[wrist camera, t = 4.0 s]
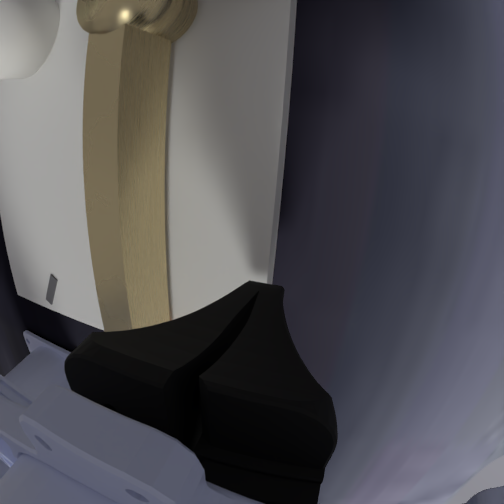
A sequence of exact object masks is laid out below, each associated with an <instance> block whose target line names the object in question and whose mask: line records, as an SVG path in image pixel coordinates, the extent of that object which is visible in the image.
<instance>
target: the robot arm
mask: <svg viewBox="0 0 504 504" xmlns="http://www.w3.org/2000/svg"><path fill="white" fill-rule="evenodd" d="M283 297H284V288H283V287H282V286H278V285H272V284H267V283H261V282H256V281H250V280H249V281H248V282H246V283H244V284H243V285H241V286H240V287H238V288H236V289H235V290H233V291H232V292H230V293H229V294H227V295H225V296H224V297H222V298H220V299H219V300H217V301H215V302H213V303H211V304H209V305H207V306H205V307H203V308H201V309H199V310H197V311H195V312H193V313H190V314H188V315H185V316H182V317H180V318H177V319H174V320H171V321H167V322H163V323H160V324H156V325H152V326H148V327H143V328H137V329H131V330H123V331H111V332H93V333H92V334H90V335H89V336H88V337H87V338H86V339H85V340H84V341H83V342H82V343H81V344H80V345H79V346H78V347H77V348H76V349H75V350H74V351H72V352H69V351H67V350H65V349H63V348H61V347H59V346H57V345H55V344H53V343H51V342H49V341H47V340H45V339H43V338H41V337H39V336H37V335H35V334H33V333H31V332H30V331H28V330H26V331H24V332H23V335H24V338H25V340H26V343H27V346H28V348H29V351H30V354H29V355H28V356H27V357H26V358H25V359H24V360H23V361H21V362H20V363H19V364H18V365H17V366H16V367H15V368H14V369H13V370H11V371H10V372H9V373H8V374H7V375H6V376H5V377H3V376H2V375H0V504H317V502H318V496H319V490H320V484H321V483H322V482H323V478H324V472H325V467H326V465H327V463H328V461H329V460H330V458H331V456H332V454H333V452H334V450H335V448H336V444H337V437H338V433H337V421H336V415H335V410H334V405H333V401H332V398H331V396H330V395H329V394H328V393H327V392H326V391H325V390H324V389H323V388H322V387H321V386H320V385H319V384H318V383H317V381H316V380H315V379H314V377H313V376H312V375H311V373H310V372H309V371H308V369H307V367H306V366H305V364H304V363H303V361H302V359H301V358H300V356H299V354H298V352H297V350H296V348H295V346H294V343H293V341H292V339H291V336H290V333H289V330H288V327H287V323H286V319H285V314H284V309H283ZM464 504H504V486H502V487H496V488H490V489H486V490H483V491H481V492H479V493H477V494H476V495H474V496H473V497H472V498H471V499H470V500H468V502H467V503H464Z"/></svg>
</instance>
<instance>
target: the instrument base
mask: <svg viewBox="0 0 504 504" xmlns="http://www.w3.org/2000/svg"><path fill="white" fill-rule="evenodd" d="M77 1H78V0H0V215H1V222H2V227H3V233H4V239H5V244H6V249H7V253H8V258H9V262H10V267H11V271H12V275H13V279H14V283H15V286H16V290H17V294H18V295H19V296H22V297H24V298H26V299H28V300H30V301H33V302H35V303H37V304H39V305H42V306H44V307H46V308H49V309H51V310H53V311H56V312H58V313H60V314H63V315H65V316H68V317H70V318H73V319H75V320H78V321H80V322H83V323H86V324H88V325H91V326H93V327H96V328H99V329H102V330H104V327H103V322H102V317H101V312H100V307H99V302H98V297H97V291H96V285H95V279H94V273H93V267H92V260H91V253H90V245H89V236H88V227H87V217H86V206H85V192H84V175H83V95H84V78H85V65H86V55H87V45H88V37H89V33H88V32H86V31H84V30H83V29H82V28H81V26H80V25H79V23H78V20H77V15H76V7H77ZM296 6H297V0H198V9H197V14H196V17H195V19H194V21H193V23H192V25H191V26H190V28H189V29H188V30H187V32H186V33H185V34H184V35H183V36H181V37H180V38H179V39H178V40H176V41H175V42H173V43H171V52H170V64H169V77H168V92H167V110H166V134H165V241H166V266H167V284H168V300H169V314H170V321H171V320H174V319H177V318H180V317H182V316H185V315H188V314H190V313H193V312H195V311H197V310H199V309H201V308H203V307H205V306H207V305H209V304H211V303H213V302H215V301H217V300H219V299H220V298H222V297H224V296H225V295H227V294H229V293H230V292H232V291H233V290H235V289H236V288H238V287H240V286H241V285H243V284H244V283H246V282H248V281H249V280H250V281H256V282H261V283H267V284H272V280H273V271H274V262H275V253H276V243H277V234H278V224H279V214H280V204H281V194H282V184H283V173H284V162H285V151H286V140H287V129H288V117H289V105H290V92H291V79H292V66H293V52H294V38H295V22H296Z"/></svg>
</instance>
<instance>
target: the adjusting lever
mask: <svg viewBox="0 0 504 504" xmlns="http://www.w3.org/2000/svg"><path fill="white" fill-rule="evenodd" d="M197 9H198V0H78V1H77V7H76V15H77V20H78V23H79V25H80V26H81V28H82V29H83V30H84V31H86V32H88V33H89V37H88V45H87V55H86V65H85V78H84V95H83V175H84V192H85V206H86V217H87V227H88V236H89V245H90V253H91V260H92V267H93V273H94V279H95V285H96V291H97V297H98V302H99V307H100V312H101V317H102V322H103V327H104V331H105V332H111V331H123V330H131V329H137V328H143V327H148V326H152V325H156V324H160V323H163V322H167V321H170V314H169V300H168V284H167V266H166V241H165V134H166V110H167V92H168V77H169V64H170V52H171V43H173V42H175V41H176V40H178V39H179V38H180V37H181V36H183V35H184V34H185V33H186V32H187V30H188V29H189V28H190V26H191V25H192V23H193V21H194V19H195V17H196V14H197Z"/></svg>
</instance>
